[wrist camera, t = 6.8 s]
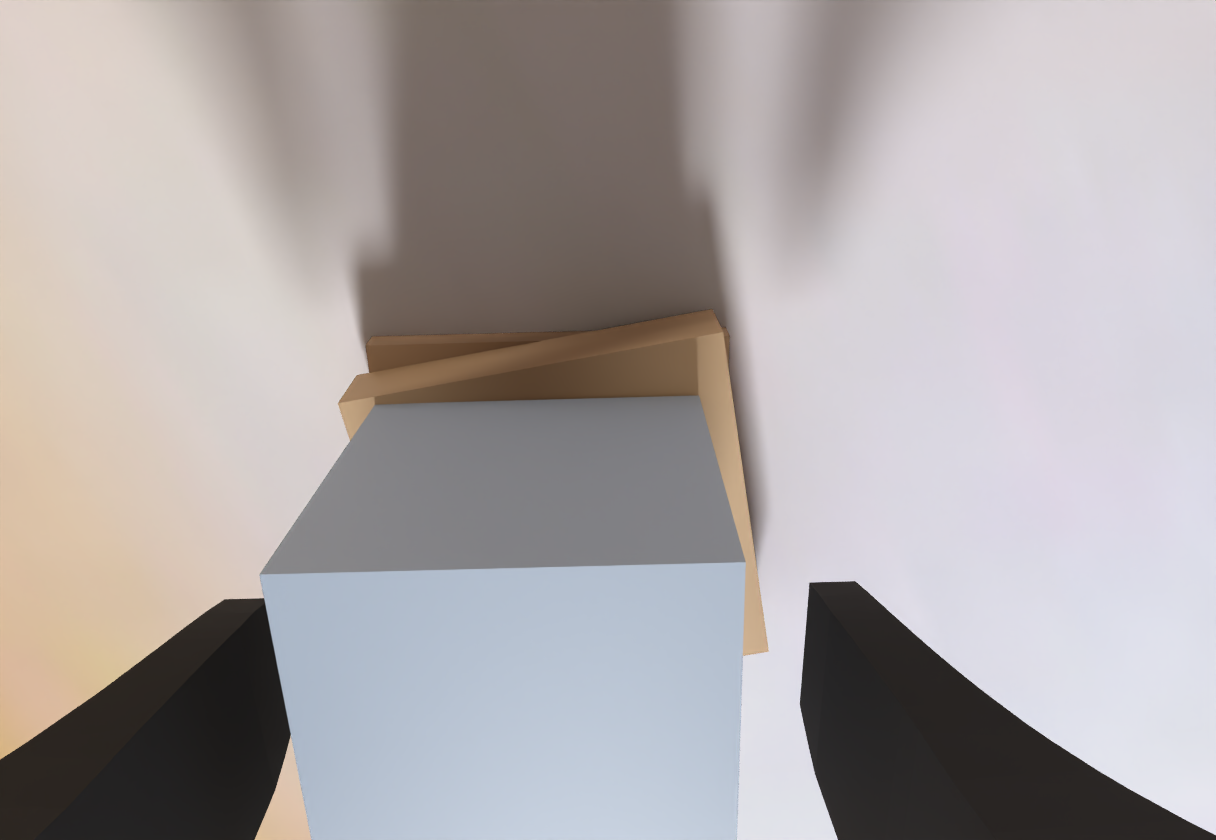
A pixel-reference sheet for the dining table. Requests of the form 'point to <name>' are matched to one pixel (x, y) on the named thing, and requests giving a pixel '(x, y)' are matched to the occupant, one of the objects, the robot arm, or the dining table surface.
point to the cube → (516, 626)
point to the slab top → (595, 396)
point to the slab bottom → (453, 346)
